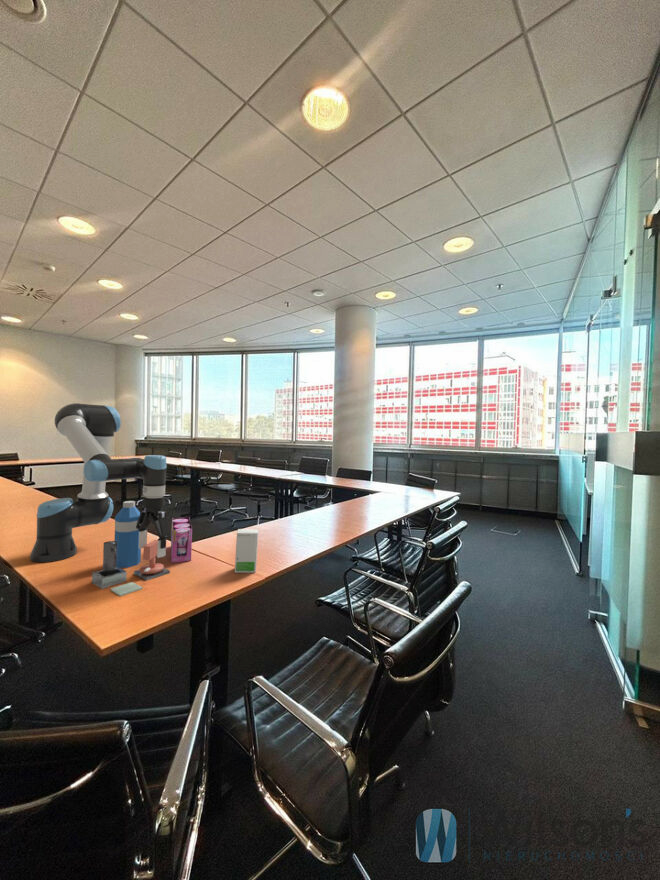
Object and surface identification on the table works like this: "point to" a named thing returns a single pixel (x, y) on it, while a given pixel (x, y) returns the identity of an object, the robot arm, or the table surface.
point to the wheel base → (151, 576)
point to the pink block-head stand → (151, 559)
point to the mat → (126, 588)
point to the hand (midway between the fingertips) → (151, 552)
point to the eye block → (109, 578)
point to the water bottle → (127, 536)
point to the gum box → (181, 539)
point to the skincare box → (246, 551)
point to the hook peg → (109, 558)
